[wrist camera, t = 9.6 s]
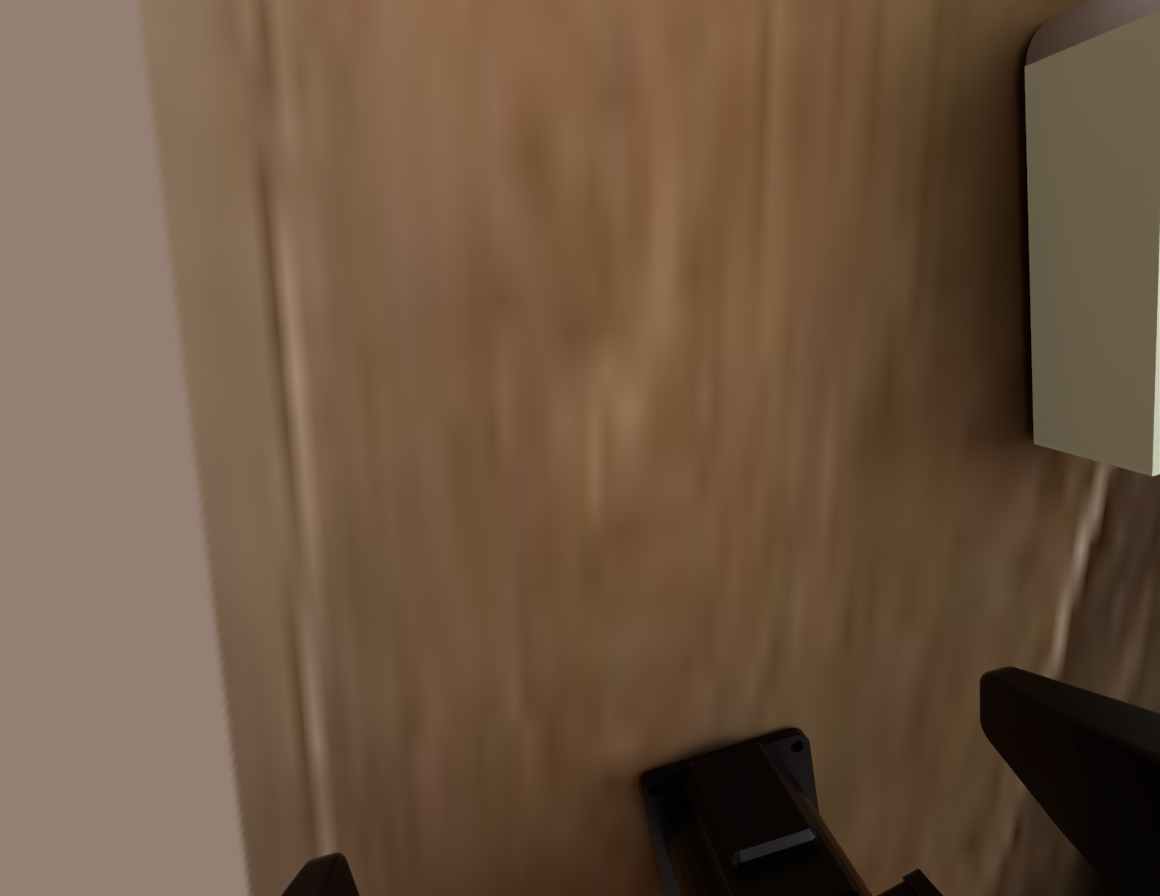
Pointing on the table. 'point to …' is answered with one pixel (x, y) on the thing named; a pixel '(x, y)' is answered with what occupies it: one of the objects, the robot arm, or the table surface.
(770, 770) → the robot arm
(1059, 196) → the stool leg
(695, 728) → the table surface
